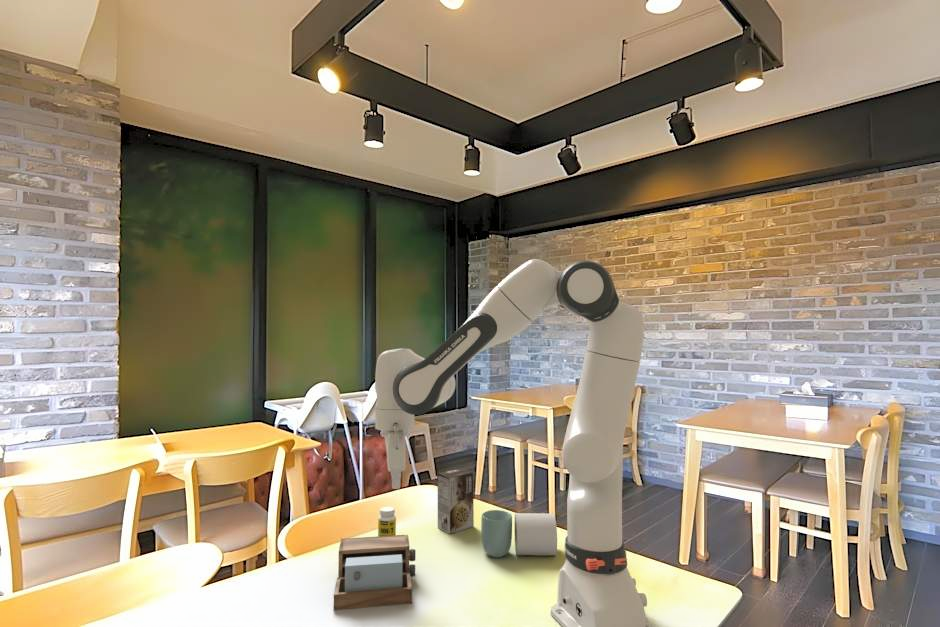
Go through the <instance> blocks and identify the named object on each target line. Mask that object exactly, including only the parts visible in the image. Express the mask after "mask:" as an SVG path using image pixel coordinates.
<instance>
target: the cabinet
mask: <svg viewBox="0 0 940 627" xmlns="http://www.w3.org/2000/svg"><path fill="white" fill-rule="evenodd" d="M400 554H402V588H391V589H378V590H365V591H353V592H345V564H346V558H355V557H370V556H385V555H400ZM415 561H416V549H414V548H411V549H410V540H409V534H396V535H394V536H378V535H377V536H365V537H364V536H363V537H352V538H351V537H348V538H341V539H340V543H339V547H338V576H337V577H336V582H335V588H334V592H333V610H347V609H357V608H359V609H360V608H369V607H371V608H372V607H381V606H394V605H406V604H407V605H409V604H412V600H413V598H412V597H413V596H412V595H413V594H412V592H413V588H412V577H415V576H416V564H412V563H411V564H410V562H415Z"/></svg>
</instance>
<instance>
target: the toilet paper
mask: <svg viewBox="0 0 940 627" xmlns="http://www.w3.org/2000/svg"><path fill="white" fill-rule="evenodd" d="M513 523H514V528H513V529H514V530H513V531H514V550H515V555H516V556H557V553H558V531H557V530H558V528H557V521H556V515H555V513H543V512H539V513H537V512H536V513H530V512H529V513H527V512H526V513H525V512H524V513H523V512H521V513H520V512H515V513H514V522H513Z"/></svg>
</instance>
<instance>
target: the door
mask: <svg viewBox="0 0 940 627" xmlns="http://www.w3.org/2000/svg"><path fill="white" fill-rule="evenodd" d="M391 588H402V554H400V555H385V556H370V557H355V558H346V564H345V592H353V591H365V590H378V589H391Z"/></svg>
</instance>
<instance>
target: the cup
mask: <svg viewBox="0 0 940 627" xmlns="http://www.w3.org/2000/svg"><path fill="white" fill-rule="evenodd" d="M480 520H481V521H480V522H481V526H480V528H481V542H482V543H481V545H482V549H483V550H484V553H485V554H486V555H488V556H489V557H491V558H492V557H493V558H501V557H502V558H503V557H505V556H506V555H508V554H509V552H510V550H511V547H512V541H513V515H512V513H510V512H508V511H506V510H501V509H490V510H486V511H484V512H483V513H482V514H481V519H480Z"/></svg>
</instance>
